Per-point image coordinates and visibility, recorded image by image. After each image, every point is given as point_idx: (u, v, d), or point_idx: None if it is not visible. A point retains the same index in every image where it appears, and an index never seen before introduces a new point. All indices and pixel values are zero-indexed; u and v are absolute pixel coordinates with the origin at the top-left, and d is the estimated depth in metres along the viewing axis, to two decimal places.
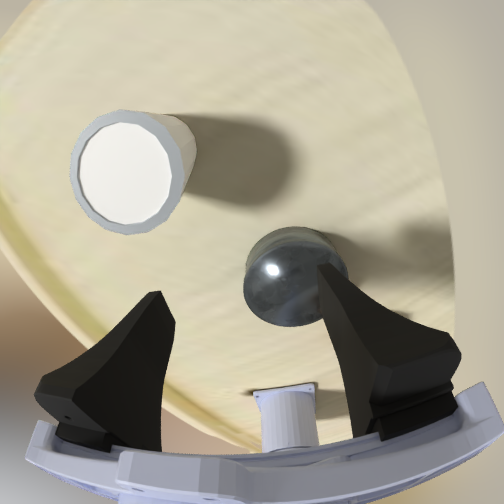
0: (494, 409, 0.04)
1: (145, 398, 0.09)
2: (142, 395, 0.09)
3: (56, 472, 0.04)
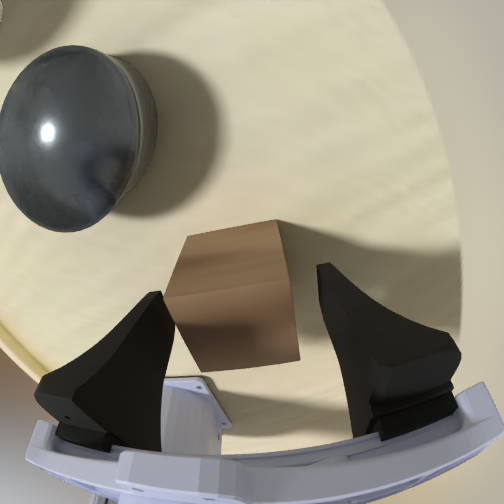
0: (493, 409, 0.04)
1: (145, 398, 0.09)
2: (142, 395, 0.09)
3: (56, 472, 0.04)
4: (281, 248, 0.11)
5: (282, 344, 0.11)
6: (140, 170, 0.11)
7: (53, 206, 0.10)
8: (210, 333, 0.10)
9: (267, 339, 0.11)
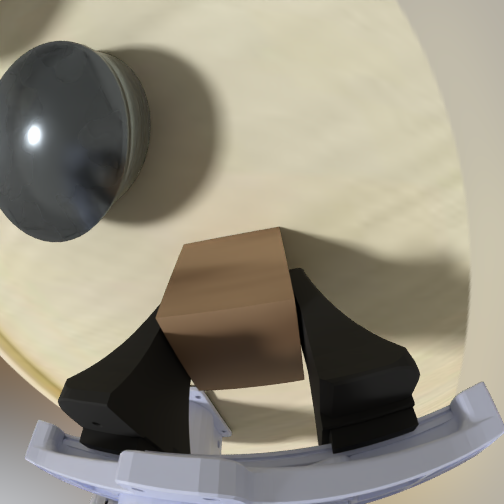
0: (493, 409, 0.04)
1: (175, 399, 0.09)
2: (172, 396, 0.09)
3: (56, 472, 0.04)
4: (285, 262, 0.10)
5: (285, 365, 0.10)
6: (132, 175, 0.10)
7: (40, 214, 0.09)
8: (207, 353, 0.09)
9: (269, 360, 0.10)
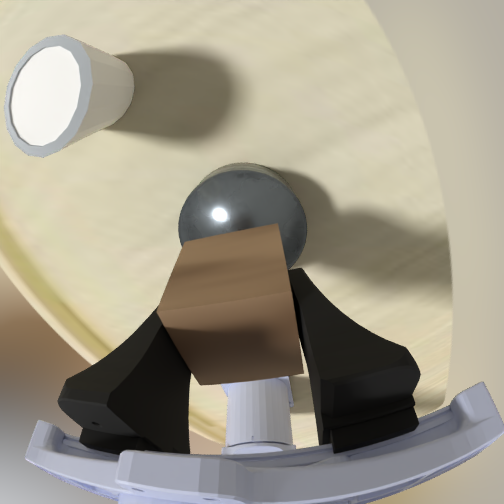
0: (494, 409, 0.04)
1: (174, 399, 0.09)
2: (172, 396, 0.09)
3: (56, 472, 0.04)
4: (283, 256, 0.10)
5: (284, 358, 0.10)
6: None
7: None
8: (207, 347, 0.10)
9: (267, 353, 0.10)
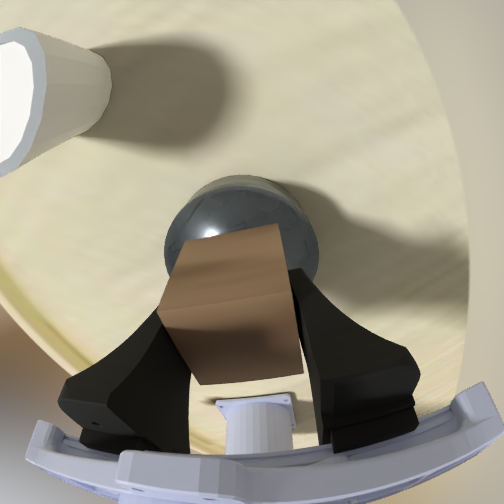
0: (493, 409, 0.04)
1: (174, 399, 0.09)
2: (172, 396, 0.09)
3: (56, 472, 0.04)
4: (283, 256, 0.10)
5: (284, 357, 0.10)
6: None
7: None
8: (207, 346, 0.10)
9: (268, 353, 0.10)
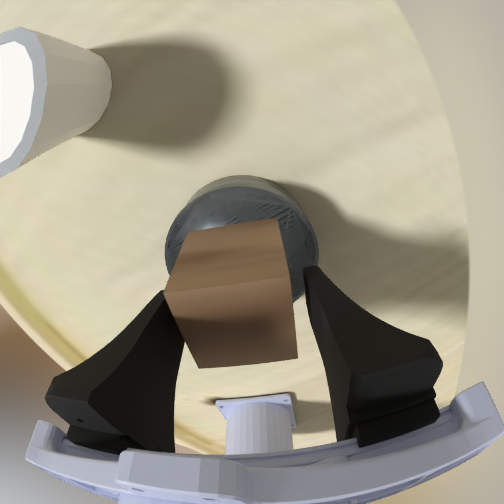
0: (494, 409, 0.04)
1: (159, 399, 0.09)
2: (156, 395, 0.09)
3: (56, 472, 0.04)
4: (281, 246, 0.11)
5: (280, 342, 0.11)
6: None
7: None
8: (209, 329, 0.11)
9: (265, 336, 0.11)
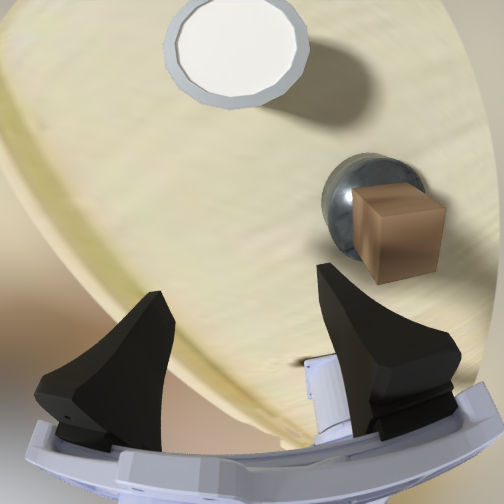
0: (493, 410, 0.04)
1: (145, 398, 0.09)
2: (142, 395, 0.09)
3: (56, 472, 0.04)
4: None
5: (431, 256, 0.15)
6: None
7: None
8: (398, 246, 0.14)
9: (425, 252, 0.15)
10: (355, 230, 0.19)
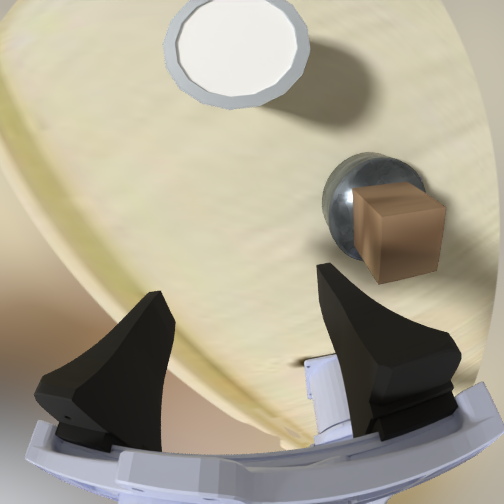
0: (493, 409, 0.04)
1: (145, 398, 0.09)
2: (142, 395, 0.09)
3: (56, 472, 0.04)
4: (427, 195, 0.15)
5: (432, 256, 0.15)
6: None
7: None
8: (399, 245, 0.14)
9: (426, 251, 0.15)
10: (356, 230, 0.19)
